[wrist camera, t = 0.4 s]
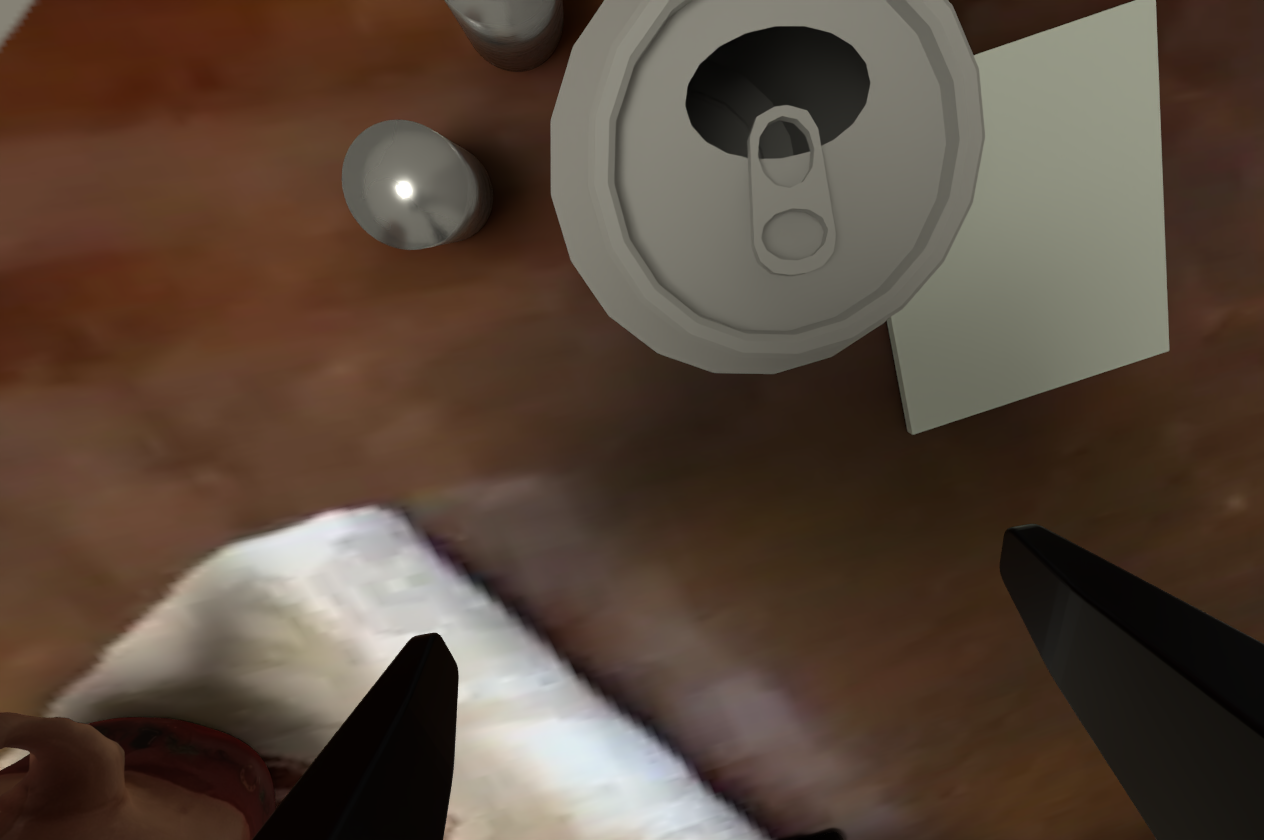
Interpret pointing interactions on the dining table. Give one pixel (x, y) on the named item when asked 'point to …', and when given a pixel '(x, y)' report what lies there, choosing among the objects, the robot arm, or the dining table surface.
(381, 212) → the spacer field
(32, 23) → the dining table surface
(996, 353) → the mat
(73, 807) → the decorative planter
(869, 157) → the can
